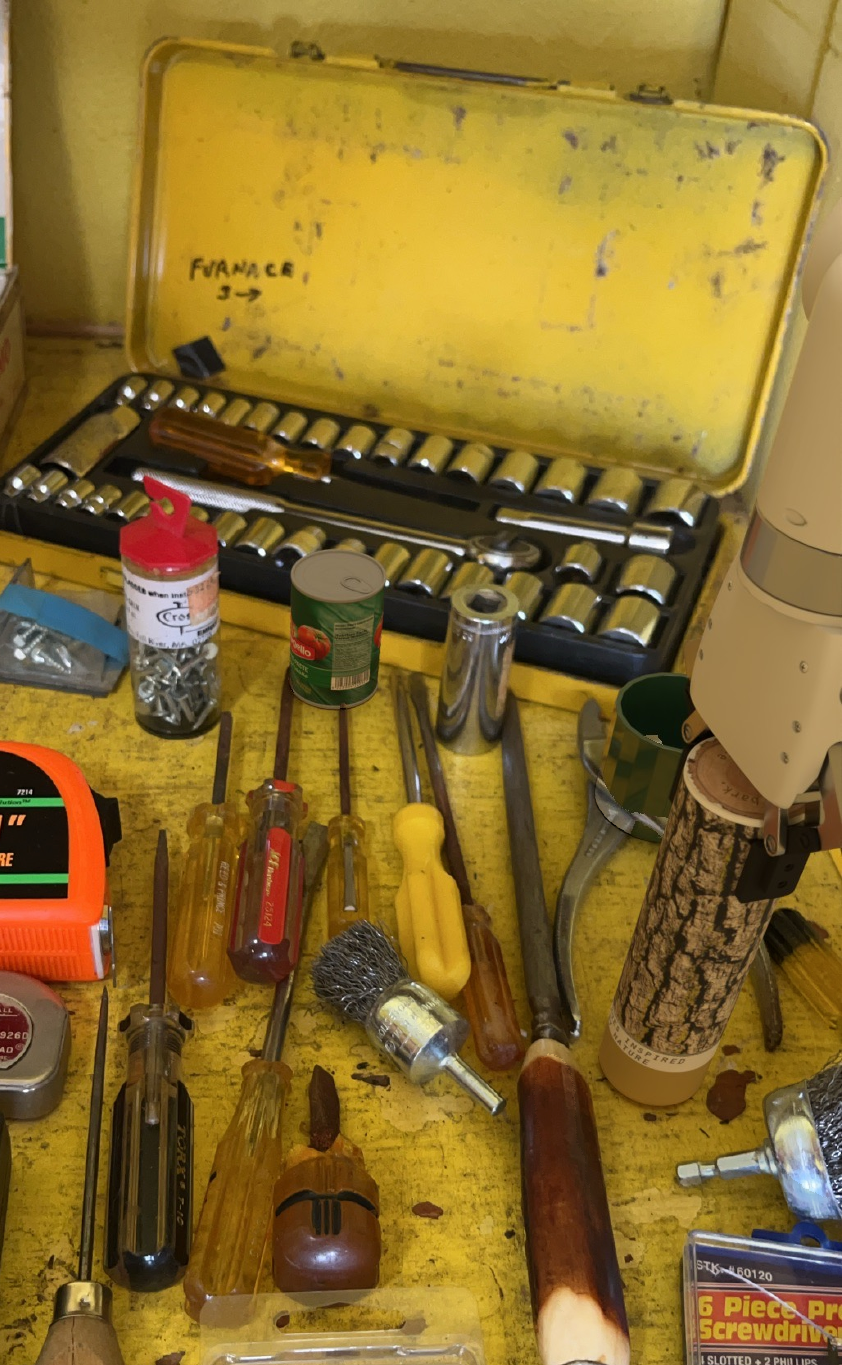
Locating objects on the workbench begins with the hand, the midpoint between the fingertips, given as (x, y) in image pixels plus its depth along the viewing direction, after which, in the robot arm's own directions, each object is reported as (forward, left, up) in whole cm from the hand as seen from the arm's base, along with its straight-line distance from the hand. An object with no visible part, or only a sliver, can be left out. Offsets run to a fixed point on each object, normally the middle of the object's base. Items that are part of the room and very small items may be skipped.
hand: (728, 844), depth 67 cm
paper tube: (0, 0, -20) cm, 20 cm away
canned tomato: (+9, -45, -20) cm, 50 cm away
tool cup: (-12, -24, -20) cm, 34 cm away
